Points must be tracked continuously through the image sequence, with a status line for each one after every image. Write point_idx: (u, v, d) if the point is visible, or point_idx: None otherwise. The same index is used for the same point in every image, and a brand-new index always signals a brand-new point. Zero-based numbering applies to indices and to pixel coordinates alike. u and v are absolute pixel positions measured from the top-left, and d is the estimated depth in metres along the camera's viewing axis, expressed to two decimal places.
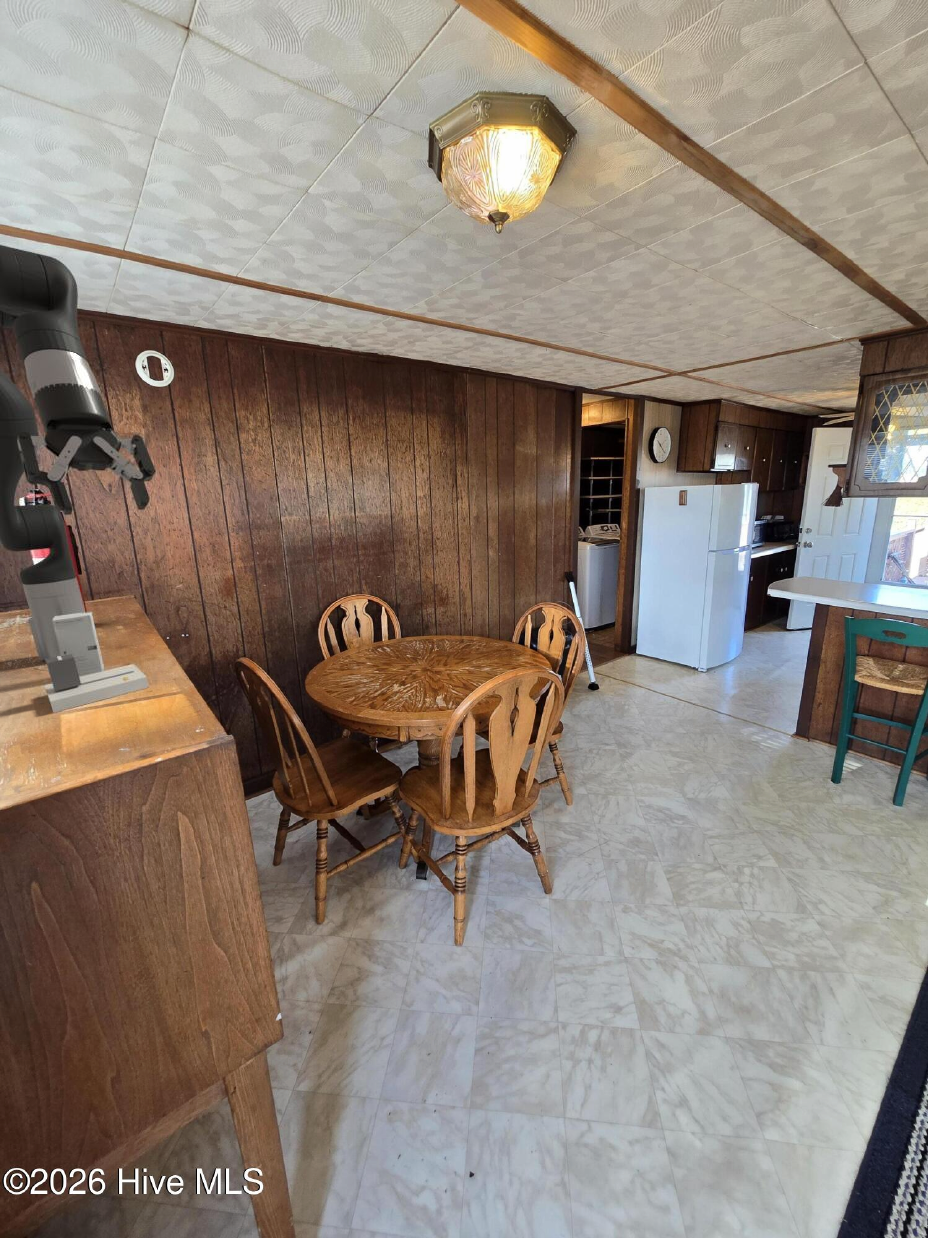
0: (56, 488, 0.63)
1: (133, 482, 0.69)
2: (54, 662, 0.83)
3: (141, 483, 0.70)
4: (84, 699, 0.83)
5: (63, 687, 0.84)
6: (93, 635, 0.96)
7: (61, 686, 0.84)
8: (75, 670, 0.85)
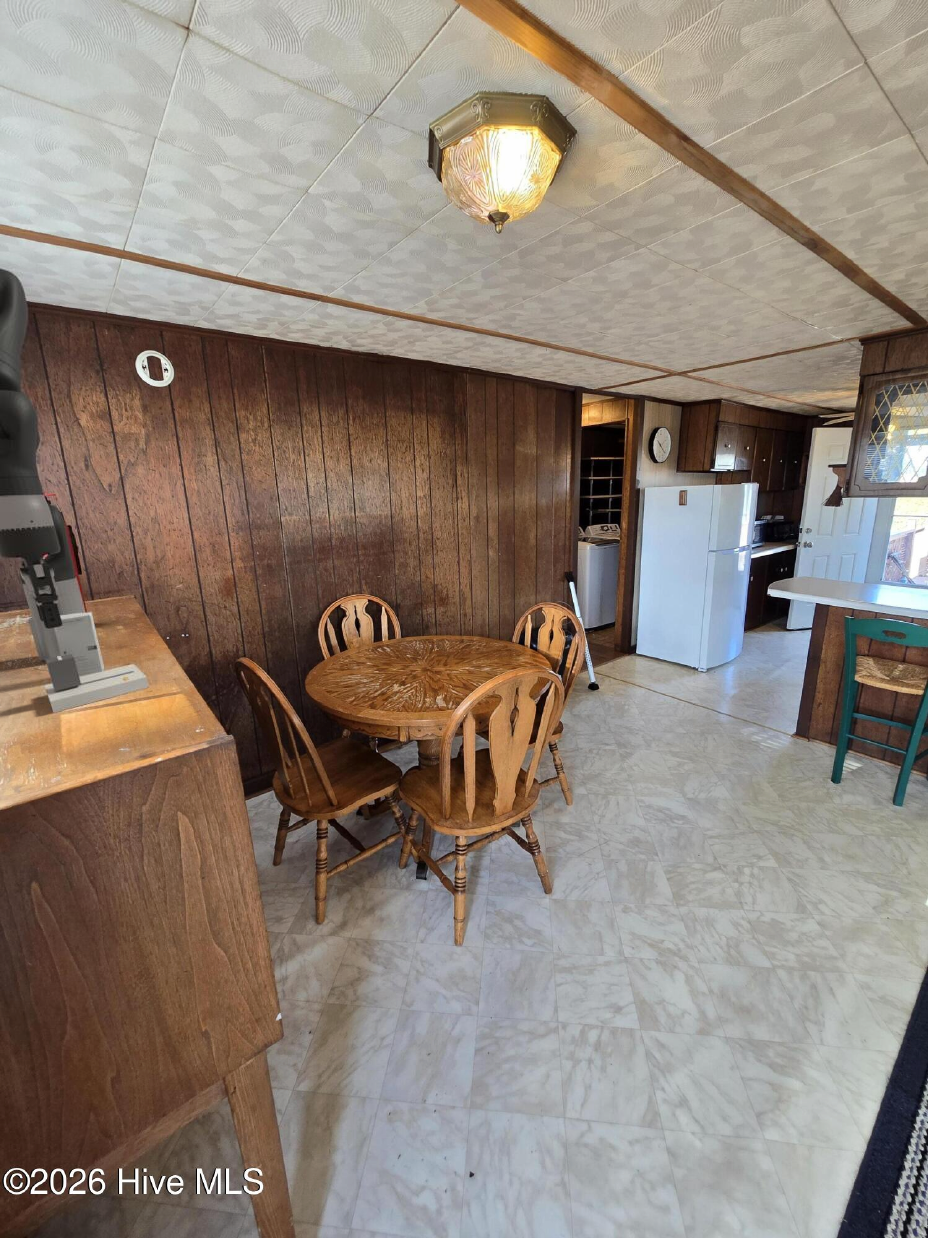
0: None
1: None
2: (54, 662, 0.83)
3: (43, 608, 0.78)
4: (84, 699, 0.83)
5: (63, 687, 0.84)
6: (93, 635, 0.96)
7: (61, 686, 0.84)
8: (75, 670, 0.85)
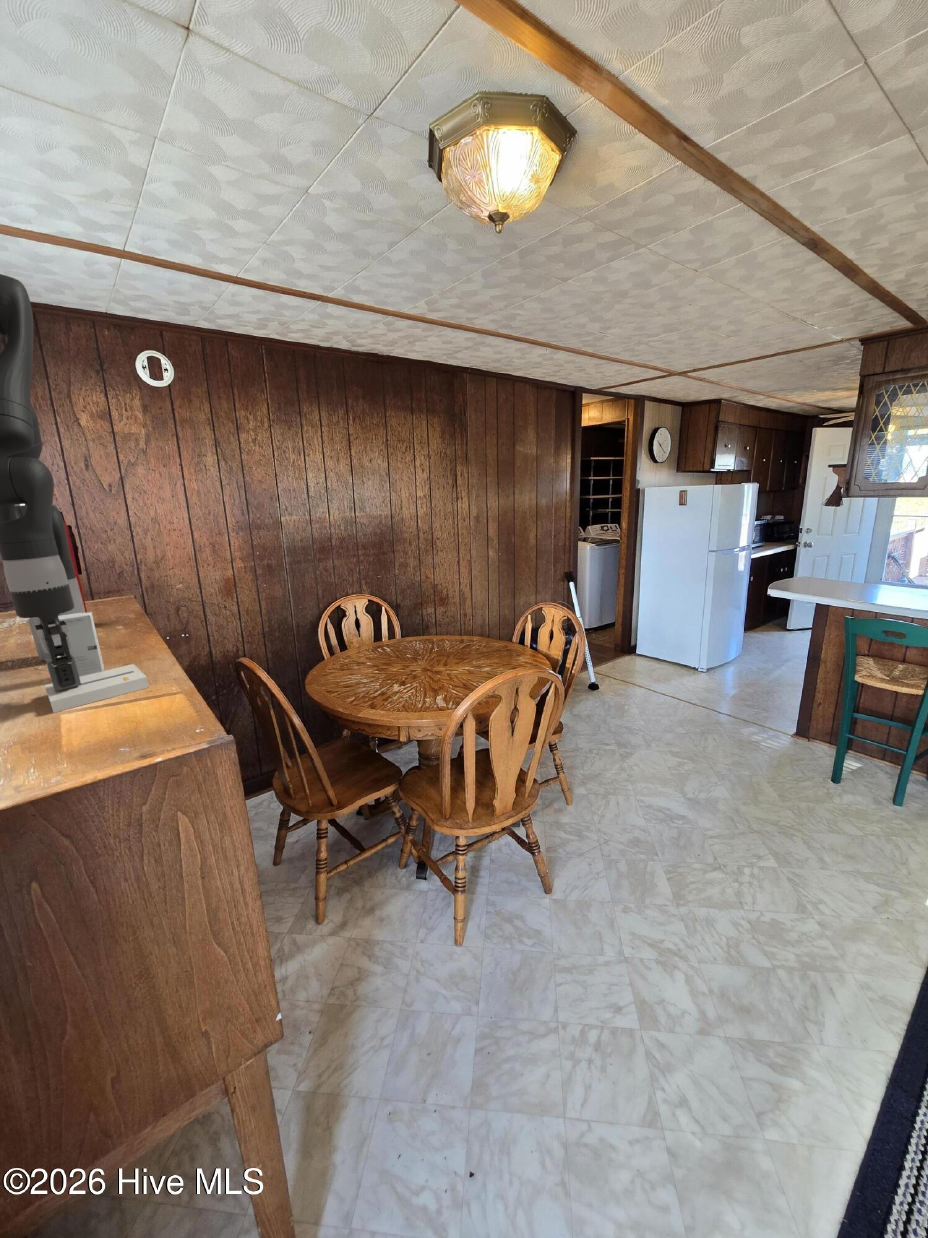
0: None
1: None
2: None
3: (58, 669, 0.82)
4: (84, 699, 0.83)
5: (63, 687, 0.84)
6: (93, 635, 0.96)
7: None
8: (75, 670, 0.85)
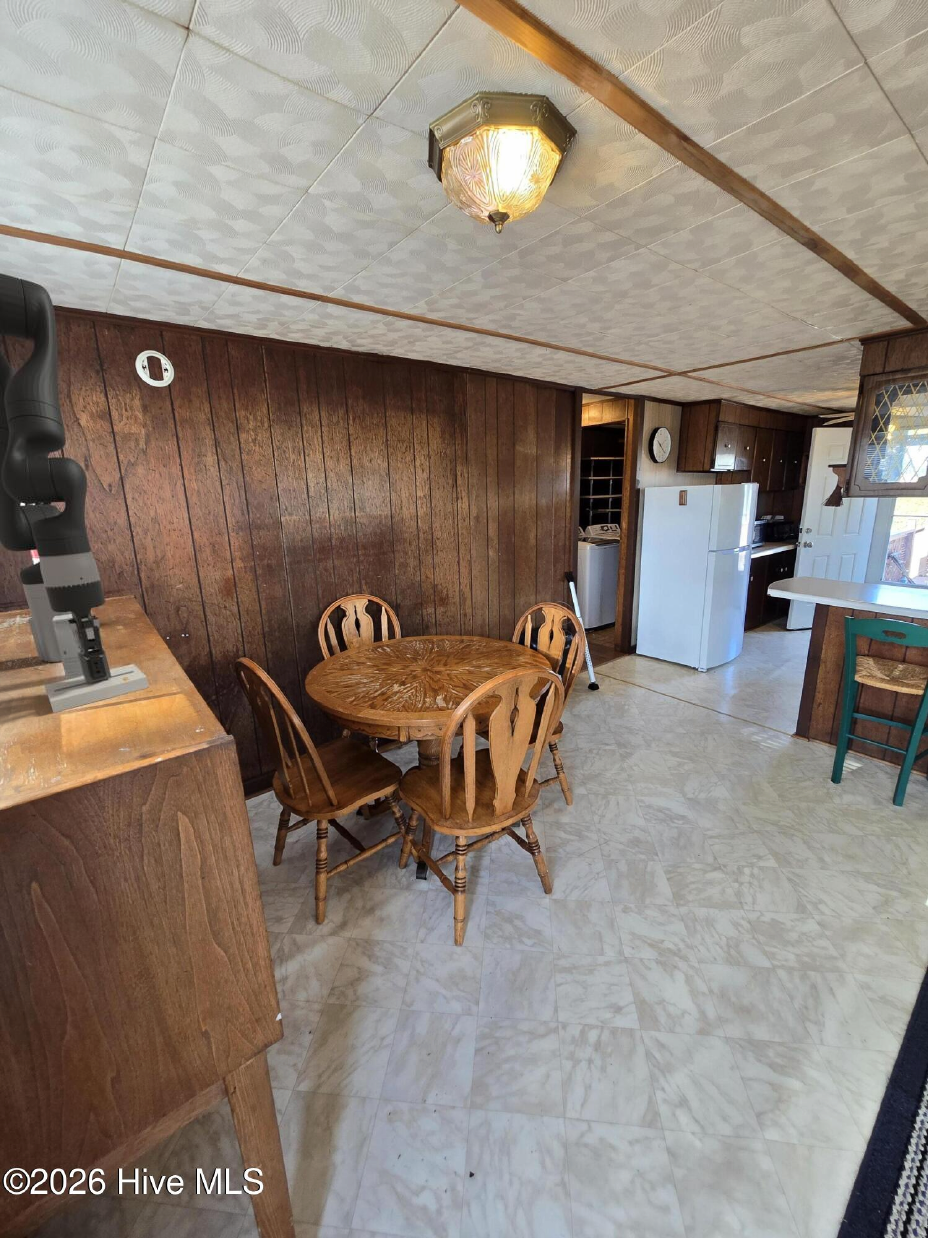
0: None
1: None
2: None
3: (90, 662, 0.85)
4: (84, 699, 0.83)
5: None
6: None
7: None
8: (106, 663, 0.88)
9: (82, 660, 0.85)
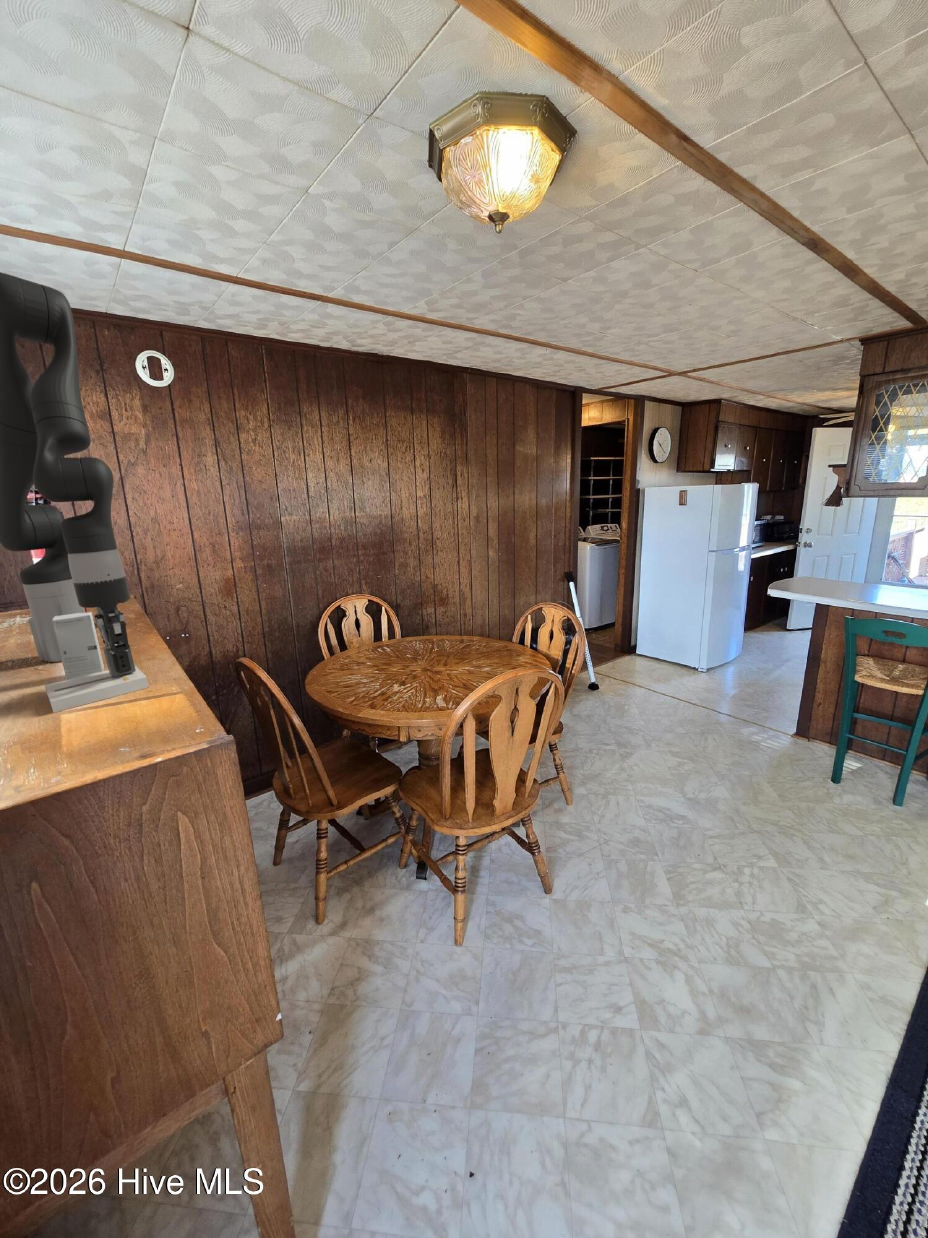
0: None
1: None
2: None
3: (116, 656, 0.88)
4: (84, 699, 0.83)
5: None
6: (93, 635, 0.96)
7: (118, 673, 0.89)
8: (130, 657, 0.90)
9: (108, 654, 0.88)
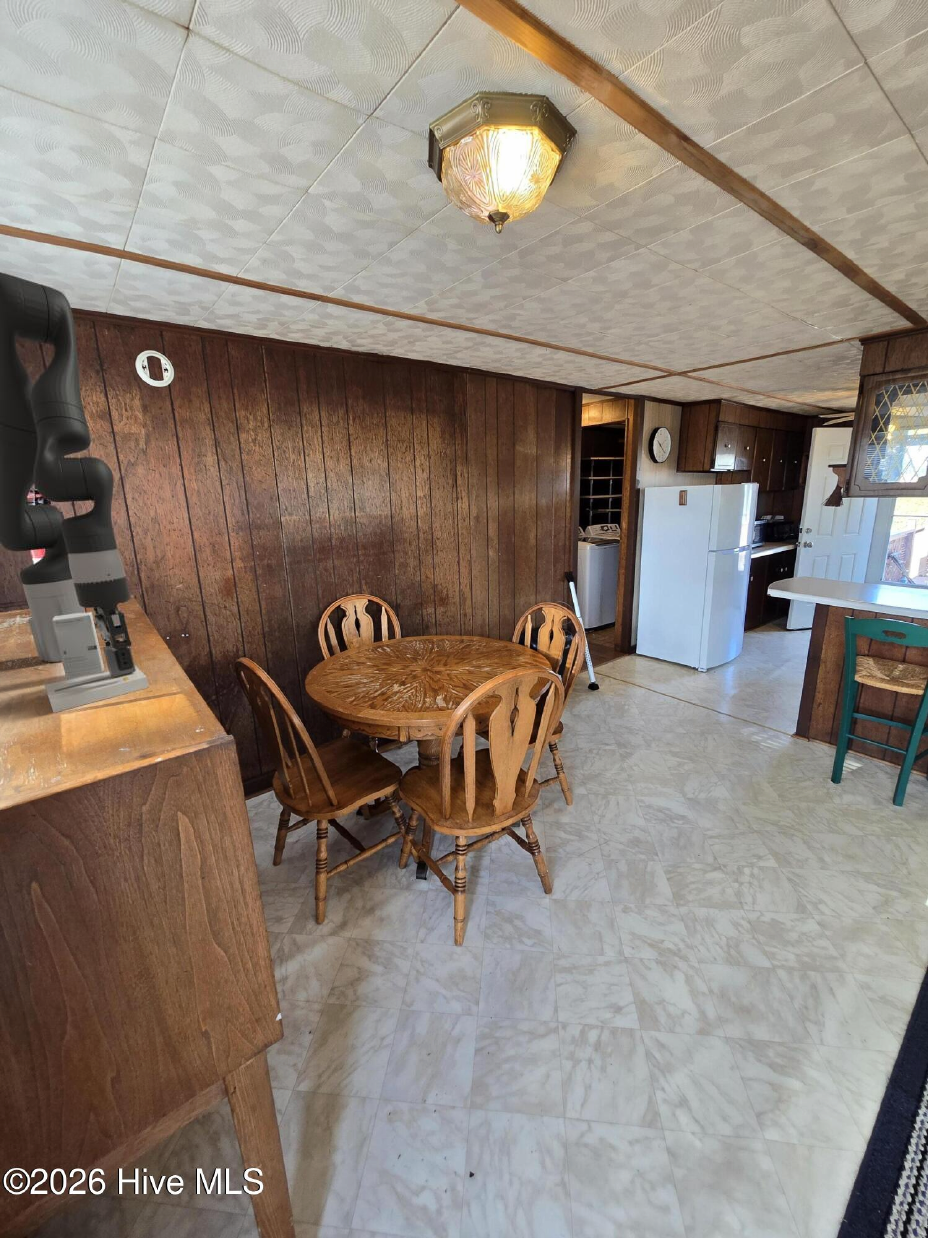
0: None
1: None
2: (112, 649, 0.88)
3: (117, 653, 0.86)
4: (84, 699, 0.83)
5: (120, 673, 0.89)
6: (93, 635, 0.96)
7: (118, 673, 0.89)
8: None
9: (108, 654, 0.88)
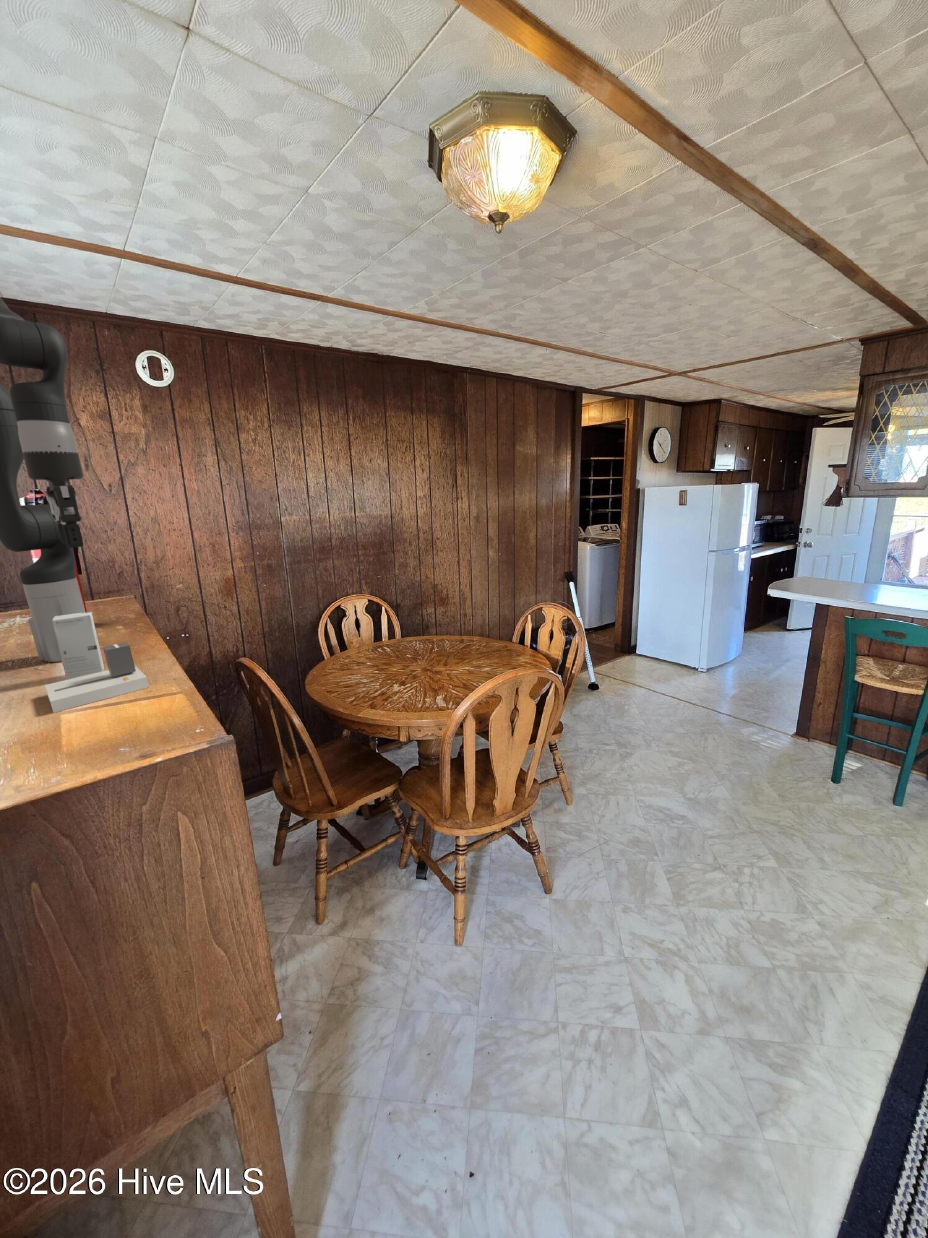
0: None
1: None
2: (112, 649, 0.88)
3: (66, 528, 0.84)
4: (84, 699, 0.83)
5: (120, 673, 0.89)
6: (93, 635, 0.96)
7: (118, 673, 0.89)
8: (130, 657, 0.90)
9: (108, 654, 0.88)
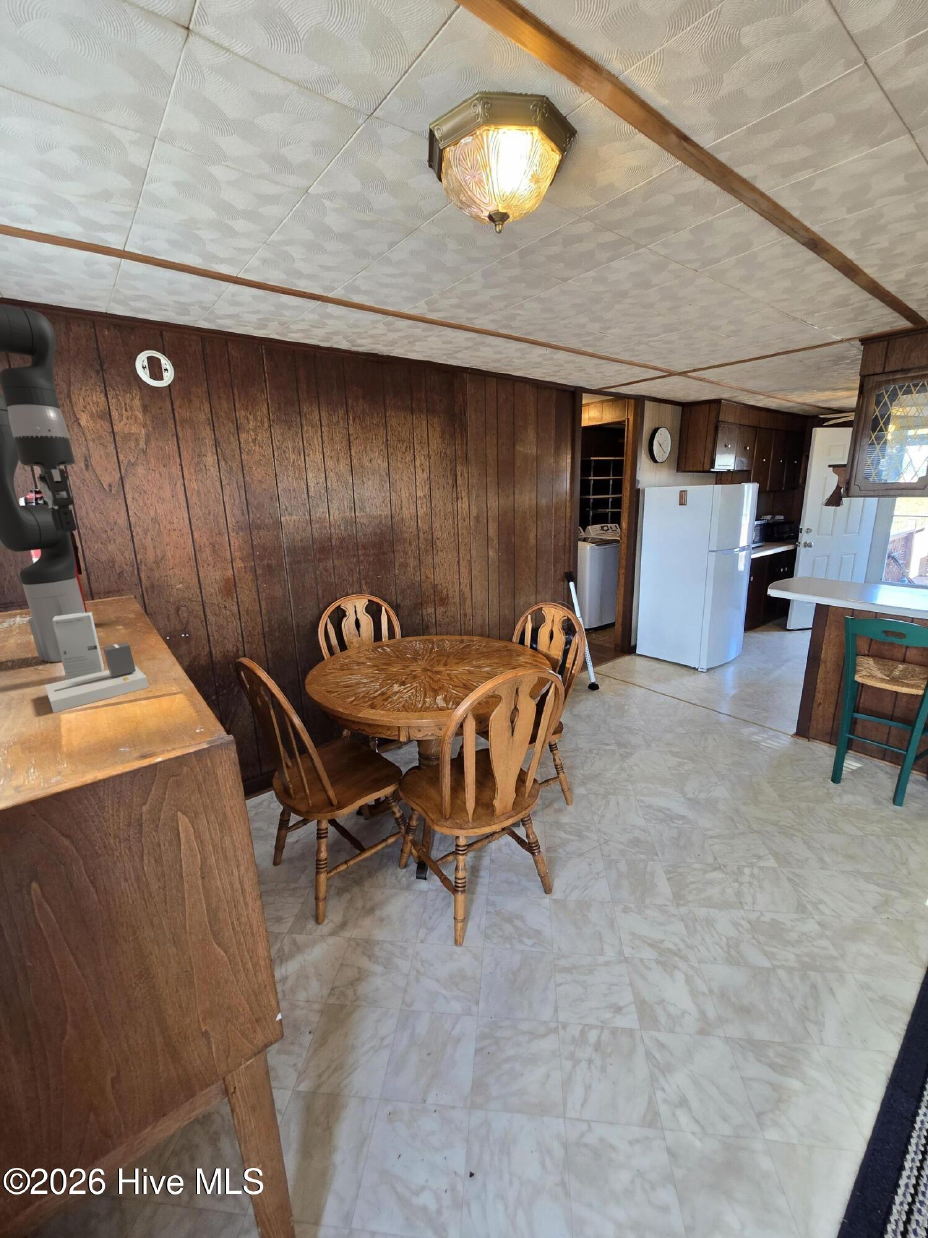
0: None
1: None
2: (112, 649, 0.88)
3: (59, 512, 0.85)
4: (84, 699, 0.83)
5: (120, 673, 0.89)
6: (93, 635, 0.96)
7: (118, 673, 0.89)
8: (130, 657, 0.90)
9: (108, 654, 0.88)
